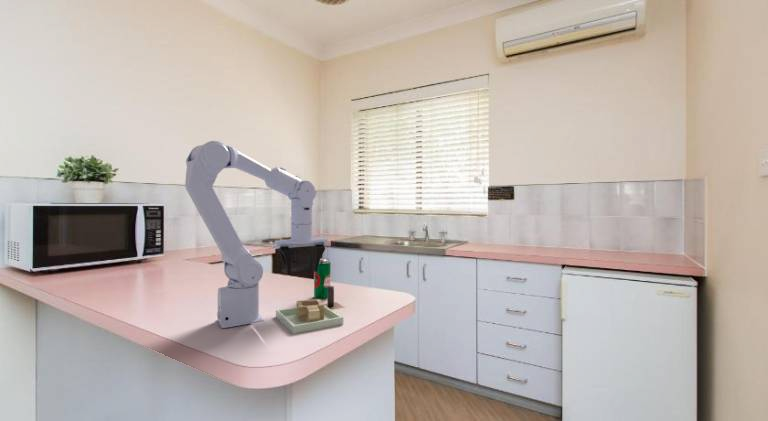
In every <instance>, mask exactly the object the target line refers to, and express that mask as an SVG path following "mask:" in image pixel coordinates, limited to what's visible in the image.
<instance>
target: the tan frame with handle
mask: <svg viewBox="0 0 768 421" xmlns="http://www.w3.org/2000/svg"><path fill="white" fill-rule="evenodd" d="M324 304H325V303H323V302H322V299H317V298H315V299H307V300H296V307H297V317H298V319H299V322H302V321H307V323H310V322H315V321H320V320H321V319H324Z"/></svg>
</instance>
